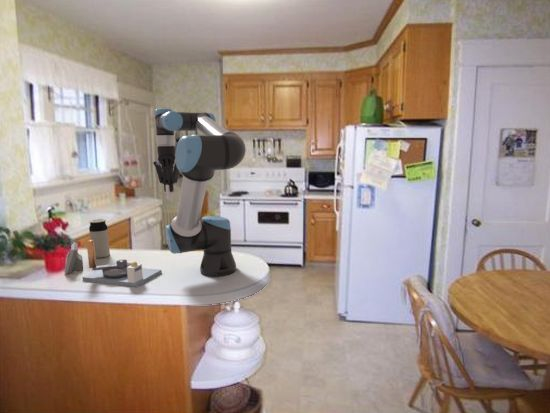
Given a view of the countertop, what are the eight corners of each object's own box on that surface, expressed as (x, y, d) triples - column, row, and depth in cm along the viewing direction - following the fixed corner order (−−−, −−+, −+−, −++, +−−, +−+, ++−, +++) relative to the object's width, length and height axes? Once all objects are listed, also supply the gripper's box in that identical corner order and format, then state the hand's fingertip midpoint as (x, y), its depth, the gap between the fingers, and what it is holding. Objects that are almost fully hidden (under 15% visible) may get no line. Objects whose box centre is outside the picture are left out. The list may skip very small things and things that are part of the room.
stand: (161, 273, 160) (160, 252, 158) (137, 286, 145) (135, 264, 143) (110, 268, 168) (109, 248, 166) (82, 280, 153) (80, 259, 151)
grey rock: (66, 264, 174) (64, 242, 172) (88, 262, 177) (86, 240, 175) (57, 276, 159) (54, 251, 157) (81, 273, 161) (78, 249, 160)
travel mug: (112, 255, 186) (109, 219, 183) (96, 259, 181) (92, 222, 178) (105, 252, 192) (102, 217, 189) (89, 256, 186) (85, 220, 183)
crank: (135, 267, 163) (132, 234, 160) (132, 276, 151) (129, 241, 149) (93, 271, 158) (89, 237, 156) (86, 280, 147) (83, 244, 145)
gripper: (183, 145, 166) (186, 198, 170) (158, 145, 170) (161, 197, 174) (174, 145, 159) (177, 200, 163) (148, 145, 163) (152, 199, 167)
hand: (169, 199), depth 169 cm, fingers closed
